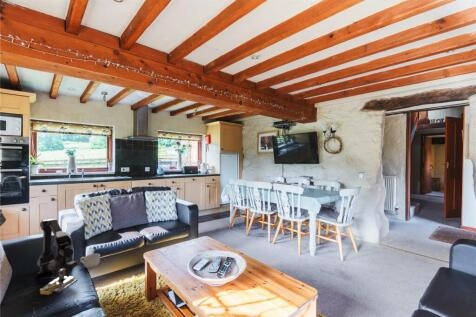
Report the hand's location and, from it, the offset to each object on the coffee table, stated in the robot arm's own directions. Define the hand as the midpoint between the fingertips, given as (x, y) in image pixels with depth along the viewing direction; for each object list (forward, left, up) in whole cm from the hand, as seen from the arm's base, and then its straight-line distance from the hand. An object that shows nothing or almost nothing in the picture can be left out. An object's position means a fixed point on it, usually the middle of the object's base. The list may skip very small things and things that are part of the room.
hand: (61, 276), depth 157 cm
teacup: (+1, +25, -5) cm, 26 cm away
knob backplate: (0, -4, -5) cm, 6 cm away
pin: (0, 0, -4) cm, 4 cm away
